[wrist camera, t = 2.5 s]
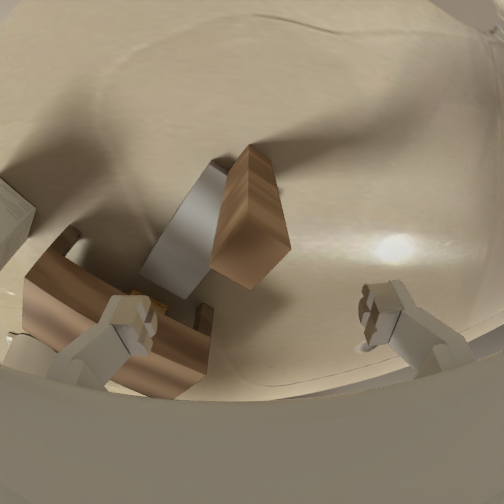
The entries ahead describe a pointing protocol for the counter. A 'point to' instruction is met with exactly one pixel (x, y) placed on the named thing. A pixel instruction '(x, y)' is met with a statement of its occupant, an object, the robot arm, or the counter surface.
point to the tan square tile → (153, 303)
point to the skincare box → (13, 222)
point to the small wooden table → (90, 311)
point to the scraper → (223, 228)
